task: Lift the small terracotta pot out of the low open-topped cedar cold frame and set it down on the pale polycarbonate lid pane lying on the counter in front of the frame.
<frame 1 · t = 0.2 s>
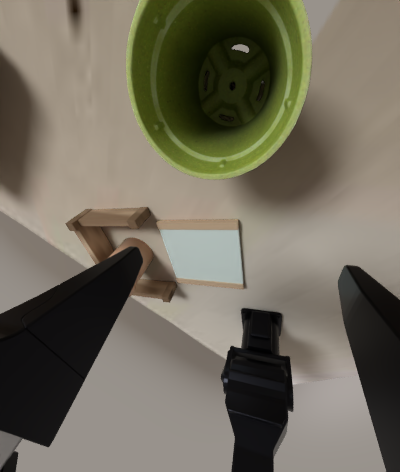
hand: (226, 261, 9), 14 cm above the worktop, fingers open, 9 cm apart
cold frame: (135, 251, 33), on the worktop
terracotta pot: (137, 251, 33), on the worktop
lid pane: (203, 254, 30), on the worktop
plant pot: (233, 87, 17), on the worktop
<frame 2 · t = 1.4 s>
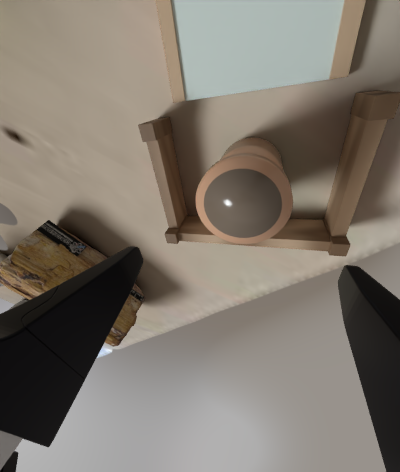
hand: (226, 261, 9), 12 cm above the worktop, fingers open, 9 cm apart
cold frame: (249, 176, 19), on the worktop
plastic bottle: (11, 259, 43), on the worktop
terracotta pot: (249, 170, 18), on the worktop
petrified wood: (99, 267, 36), on the worktop
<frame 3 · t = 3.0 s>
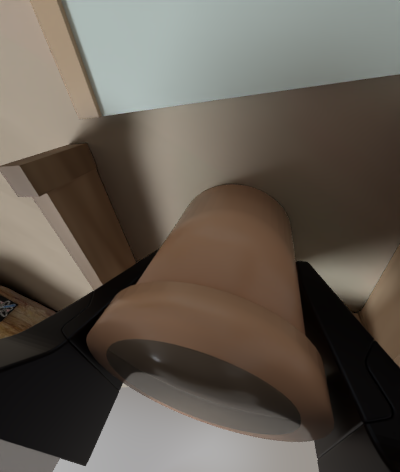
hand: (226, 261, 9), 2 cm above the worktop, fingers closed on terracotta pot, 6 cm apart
cold frame: (233, 242, 11), on the worktop
terracotta pot: (233, 235, 11), on the worktop, touching gripper
petrified wood: (50, 317, 28), on the worktop
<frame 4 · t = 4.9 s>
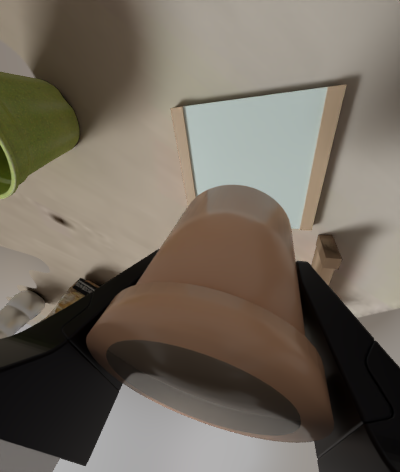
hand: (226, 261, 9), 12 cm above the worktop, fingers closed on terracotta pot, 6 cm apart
cold frame: (246, 267, 25), on the worktop
plastic bottle: (37, 294, 49), on the worktop
terracotta pot: (233, 235, 11), point 10 cm above the worktop, touching gripper
petrified wood: (119, 307, 42), on the worktop
lid pane: (247, 171, 18), on the worktop
plant pot: (55, 117, 20), on the worktop
when the fingers open (3 cm above the worktop, at t = 6.8 s): terracotta pot stays where it is, resting on lid pane.
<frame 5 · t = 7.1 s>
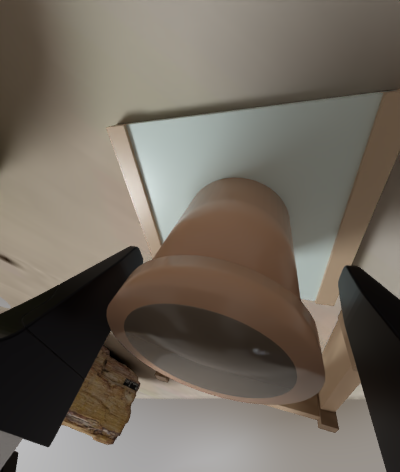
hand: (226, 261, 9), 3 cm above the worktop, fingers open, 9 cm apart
cold frame: (239, 330, 19), on the worktop
terracotta pot: (235, 226, 11), point 1 cm above the worktop, touching lid pane
petrified wood: (94, 347, 35), on the worktop
lid pane: (236, 220, 12), on the worktop
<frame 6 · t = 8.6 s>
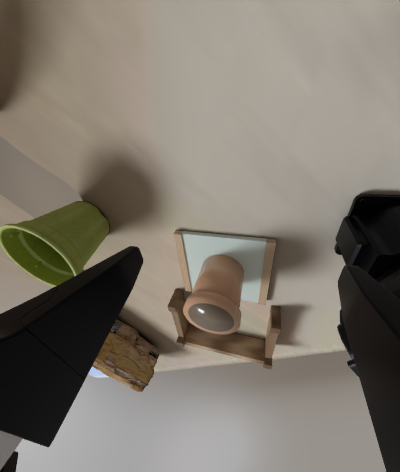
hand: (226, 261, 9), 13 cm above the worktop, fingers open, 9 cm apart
cold frame: (224, 317, 34), on the worktop
terracotta pot: (222, 270, 27), point 1 cm above the worktop, touching lid pane
petrified wood: (125, 330, 50), on the worktop
lid pane: (223, 267, 27), on the worktop
plant pot: (92, 218, 29), on the worktop
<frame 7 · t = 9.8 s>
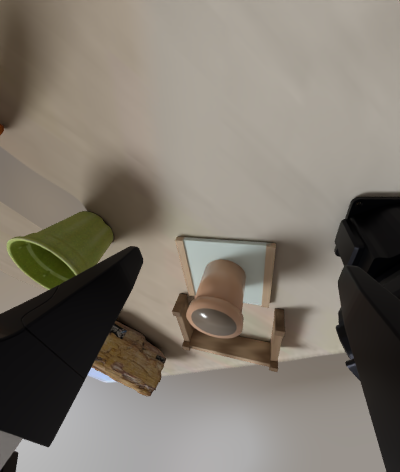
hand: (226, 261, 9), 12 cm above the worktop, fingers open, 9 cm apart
cold frame: (229, 320, 34), on the worktop
carrot: (4, 126, 23), on the worktop
terracotta pot: (224, 274, 27), point 1 cm above the worktop, touching lid pane
petrified wood: (132, 335, 51), on the worktop
lid pane: (225, 271, 27), on the worktop
plant pot: (96, 227, 30), on the worktop
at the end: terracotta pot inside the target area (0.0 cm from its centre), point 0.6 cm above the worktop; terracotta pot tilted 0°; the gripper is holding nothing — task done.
